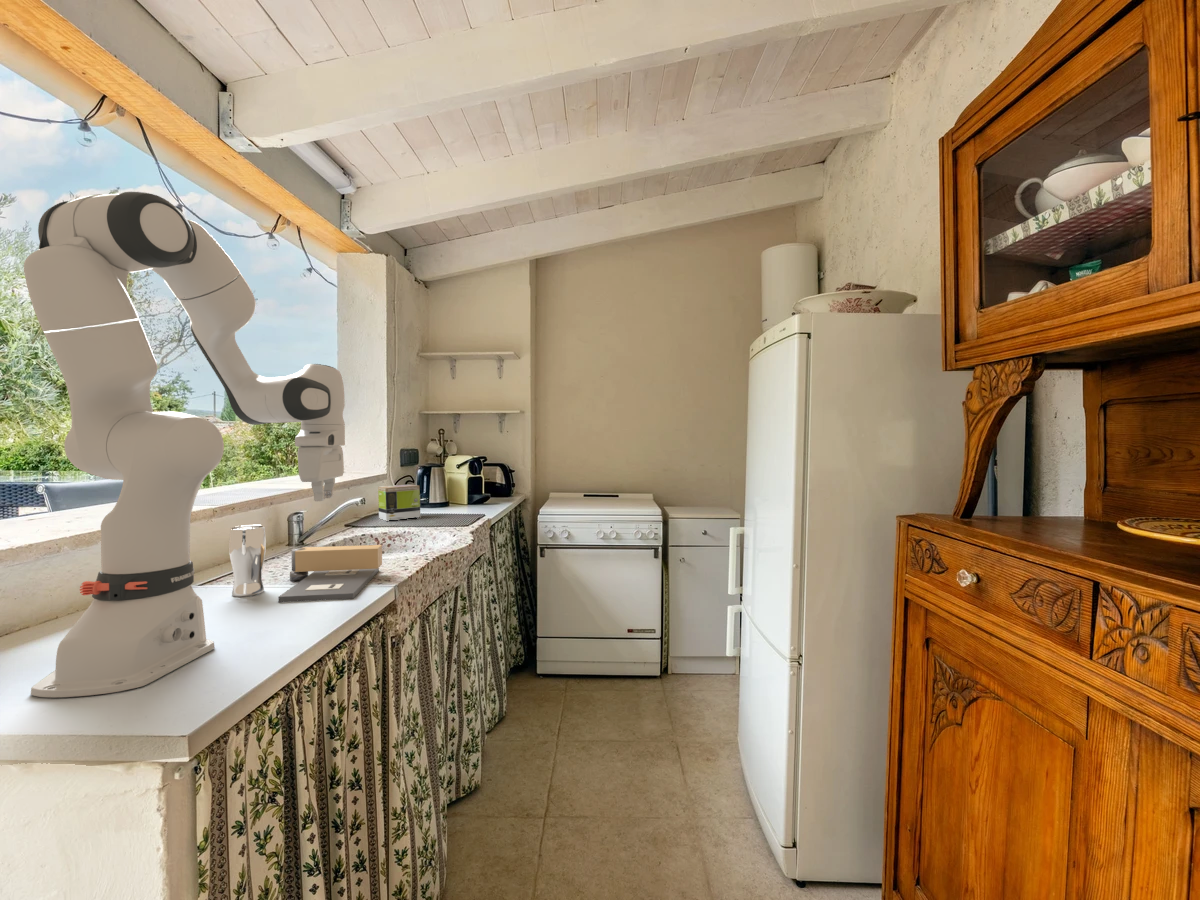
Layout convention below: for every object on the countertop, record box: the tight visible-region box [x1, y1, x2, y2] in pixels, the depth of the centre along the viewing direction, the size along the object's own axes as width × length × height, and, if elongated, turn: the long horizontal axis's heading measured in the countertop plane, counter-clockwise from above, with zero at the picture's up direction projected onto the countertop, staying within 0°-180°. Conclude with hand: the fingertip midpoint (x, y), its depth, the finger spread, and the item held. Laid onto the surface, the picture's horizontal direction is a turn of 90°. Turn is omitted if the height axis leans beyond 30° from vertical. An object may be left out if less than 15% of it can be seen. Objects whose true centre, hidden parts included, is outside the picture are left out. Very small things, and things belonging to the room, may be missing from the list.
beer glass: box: [228, 524, 267, 598], centre depth 124 cm, size 7×7×15 cm
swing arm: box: [290, 544, 383, 572], centre depth 138 cm, size 5×21×5 cm, turn 100°
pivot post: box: [289, 570, 309, 583], centre depth 137 cm, size 4×4×2 cm
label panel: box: [277, 567, 380, 603], centre depth 132 cm, size 26×15×2 cm, turn 10°
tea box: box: [377, 484, 421, 522], centre depth 241 cm, size 15×10×15 cm
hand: (323, 499), depth 124 cm, fingers open, 5 cm apart
